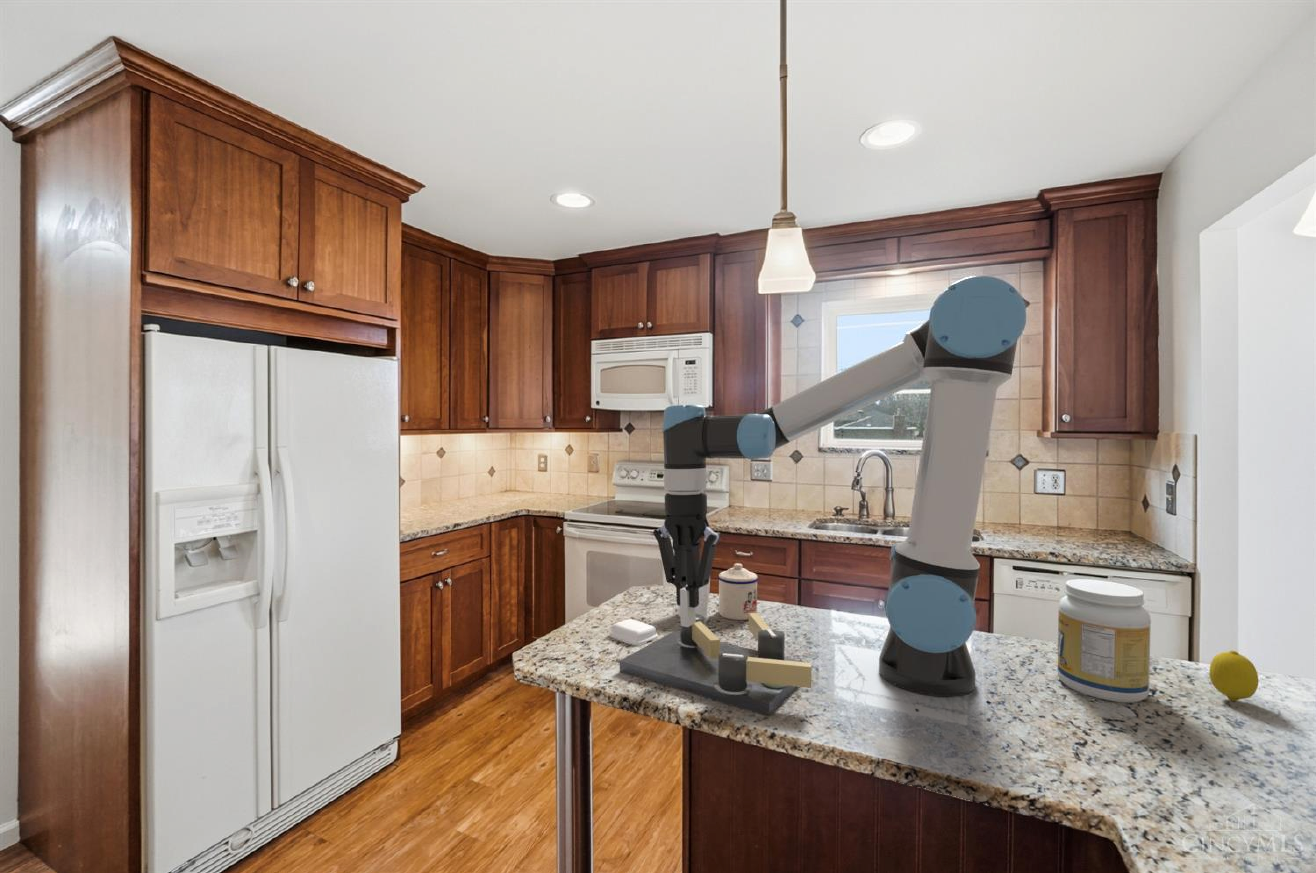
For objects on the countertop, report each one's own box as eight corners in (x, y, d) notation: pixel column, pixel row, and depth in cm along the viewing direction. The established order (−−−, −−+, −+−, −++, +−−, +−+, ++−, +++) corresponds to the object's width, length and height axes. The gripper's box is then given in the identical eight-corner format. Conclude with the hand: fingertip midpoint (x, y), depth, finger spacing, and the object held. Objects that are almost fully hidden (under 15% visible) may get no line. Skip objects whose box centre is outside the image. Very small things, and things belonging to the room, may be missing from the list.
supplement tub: (1058, 667, 106) (1059, 573, 106) (1145, 684, 99) (1147, 584, 98) (1056, 691, 96) (1057, 588, 96) (1153, 713, 89) (1155, 602, 89)
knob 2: (788, 663, 101) (788, 636, 101) (762, 664, 100) (762, 637, 100) (764, 634, 115) (764, 610, 115) (741, 635, 115) (741, 611, 115)
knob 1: (677, 637, 113) (677, 613, 113) (699, 635, 115) (699, 611, 115) (702, 666, 100) (702, 638, 100) (727, 663, 101) (727, 636, 101)
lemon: (1249, 712, 89) (1250, 660, 89) (1202, 697, 94) (1203, 647, 94) (1264, 704, 92) (1265, 653, 92) (1217, 690, 97) (1218, 642, 96)
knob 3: (716, 689, 91) (716, 659, 91) (720, 676, 96) (720, 648, 95) (811, 699, 88) (811, 668, 88) (810, 686, 92) (811, 656, 92)
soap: (660, 639, 120) (660, 625, 120) (637, 648, 115) (637, 633, 115) (629, 629, 126) (629, 615, 126) (606, 637, 121) (606, 623, 121)
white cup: (673, 620, 131) (673, 575, 130) (677, 609, 138) (678, 567, 138) (708, 622, 129) (708, 577, 129) (711, 611, 137) (711, 568, 137)
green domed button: (791, 681, 95) (791, 676, 95) (782, 690, 91) (782, 686, 91) (768, 675, 97) (768, 671, 97) (758, 684, 94) (758, 679, 94)
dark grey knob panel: (810, 674, 102) (810, 662, 102) (766, 719, 86) (766, 704, 86) (674, 641, 118) (674, 630, 118) (616, 674, 102) (616, 662, 102)
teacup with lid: (750, 623, 129) (751, 570, 128) (712, 617, 133) (712, 566, 133) (766, 608, 139) (766, 559, 139) (730, 603, 143) (730, 555, 143)
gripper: (728, 491, 104) (730, 624, 104) (666, 488, 111) (668, 613, 111) (707, 495, 97) (710, 637, 98) (643, 492, 105) (646, 624, 105)
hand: (688, 624), depth 104 cm, fingers closed
